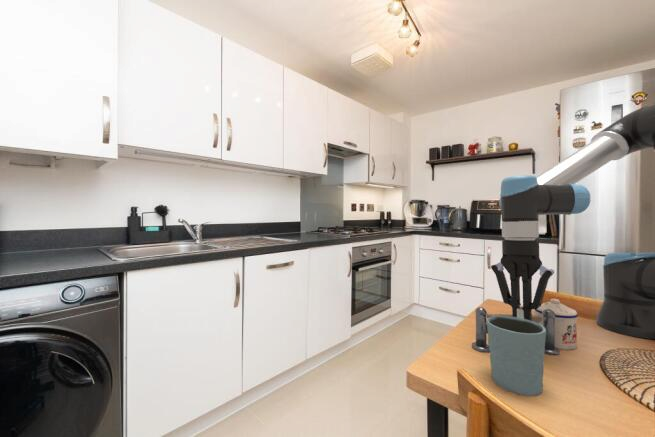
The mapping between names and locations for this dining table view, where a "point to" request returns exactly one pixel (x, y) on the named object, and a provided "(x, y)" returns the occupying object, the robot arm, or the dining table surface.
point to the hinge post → (550, 332)
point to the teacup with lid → (562, 324)
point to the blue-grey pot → (517, 354)
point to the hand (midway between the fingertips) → (522, 334)
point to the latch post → (481, 331)
